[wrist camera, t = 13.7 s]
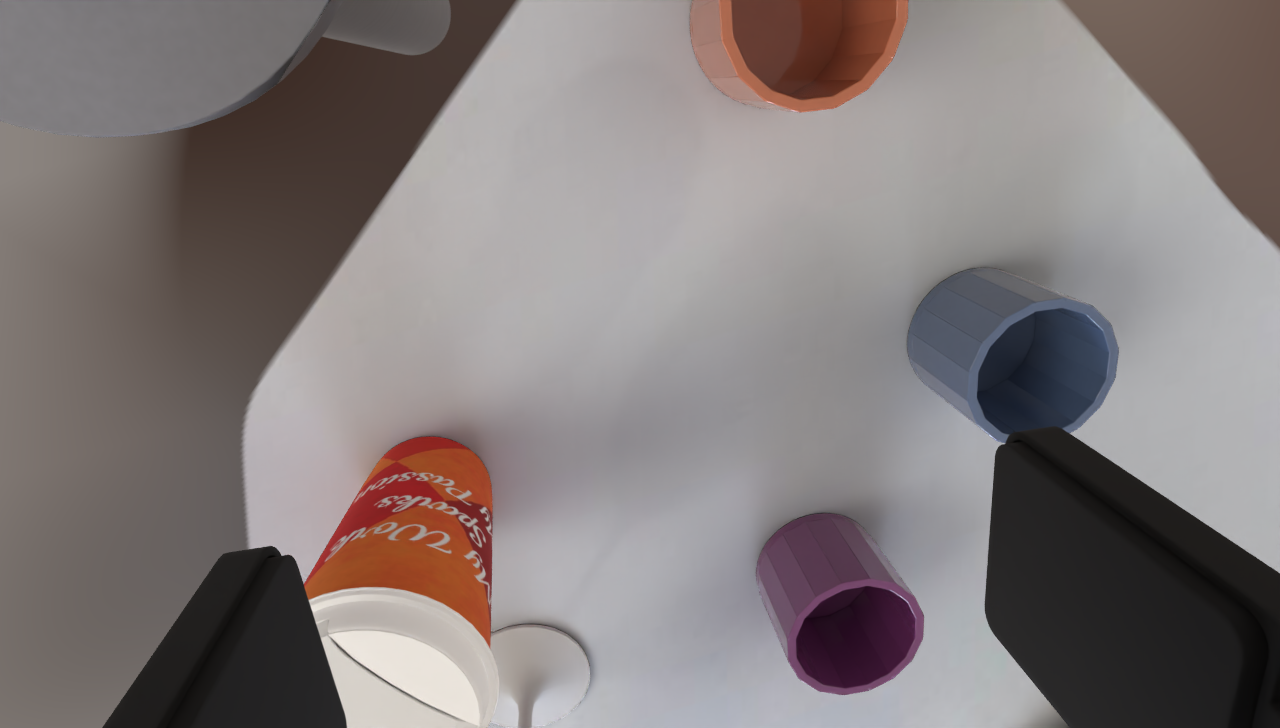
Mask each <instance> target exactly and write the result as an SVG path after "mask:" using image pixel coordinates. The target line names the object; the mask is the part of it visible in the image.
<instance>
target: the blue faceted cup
mask: <svg viewBox="0 0 1280 728" xmlns="http://www.w3.org/2000/svg"><path fill="white" fill-rule="evenodd" d="M907 347H908V356H909V360H910V363H911V366H912V368H913V370H914V372H915V374H916V375H917V376H918V378H919V379H920V380H921V381H922V382H923V383H924V384H925V385H926V386H928V387H929V388H930V389H931V390H933V391H934V392H935V393H936V394H937V395H939V396H940V397H941V398H942V399H944V400H945V401H946V402H947V403H949V404H950V405H951V406H952V407H954V408H955V409H956V410H958V411H959V412H960V413H961V414H963V415H964V416H965V417H966V418H968V419H969V420H970V421H971V422H973V423H974V424H975V425H977V426H978V427H979V428H980V429H982V430H983V431H984V432H985V433H987V434H988V435H989V436H990V437H992V438H993V439H994V440H996V441H998V442H1002V443H1006V440H1007V438H1008V436H1009V435H1010V434H1012V433H1013V432H1018V431H1024V430H1031V429H1038V428H1044V427H1051V426H1057V427H1059V428H1062V429H1063V430H1065V431H1066V432H1068V433H1071V432H1073V431H1075V430H1077V429H1078V428H1080V427H1081V426H1082V425H1083V424H1084V423H1085V422H1086V421H1087V420H1088V419H1089V418H1090V417H1091V416H1092V415H1093V414H1094V413H1095V412H1096V411H1097V410H1098V409H1099V408H1100V406H1101V405H1102V403H1103V402H1104V400H1105V398H1106V396H1107V394H1108V392H1109V390H1110V388H1111V386H1112V384H1113V382H1114V380H1115V378H1116V370H1117V362H1118V354H1119V348H1118V345H1117V342H1116V338H1115V335H1114V332H1113V328H1112V325H1111V323H1110V322H1109V321H1108V320H1107V319H1106V318H1105V317H1104V316H1103V315H1102V314H1101V313H1099V312H1098V311H1097V310H1096V309H1095V308H1094V307H1093V306H1092V305H1090V304H1087V303H1085V302H1082V301H1080V300H1077V299H1075V298H1072V297H1070V296H1068V295H1065V294H1063V293H1060V292H1058V291H1055V290H1053V289H1050V288H1048V287H1045V286H1043V285H1040V284H1038V283H1035V282H1033V281H1030V280H1028V279H1025V278H1023V277H1020V276H1018V275H1014V274H1011V273H1008V272H1005V271H1003V270H1000V269H995V268H974V269H969V270H965V271H962V272H959V273H957V274H955V275H953V276H951V277H949V278H947V279H946V280H944V281H942V282H941V283H940V284H938V285H937V286H936V287H935V288H934V289H933V290H932V291H931V292H930V293H929V294H928V295H927V296H926V297H925V298H924V300H923V301H922V302H921V304H920V305H919V307H918V308H917V310H916V312H915V314H914V316H913V319H912V321H911V324H910V328H909V332H908V340H907Z"/></svg>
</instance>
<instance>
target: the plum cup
mask: <svg viewBox="0 0 1280 728" xmlns="http://www.w3.org/2000/svg"><path fill="white" fill-rule="evenodd" d="M756 580H757V585H758V588H759V593H760V596H761V598H762V600H763V603H764V605H765V608H766V610H767V612H768V615H769V617H770V619H771V622H772V624H773V627H774V629H775V631H776V634H777V636H778V638H779V641H780V643H781V646H782V648H783V650H784V653H785V655H786V657H787V660H788V662H789V664H790V665H791V667H792V669H793V670H794V672H795V673H796V675H797V677H798V678H799V679H800V680H801V681H802V682H804V683H806V684H807V685H809V686H811V687H812V688H814V689H816V690H817V691H820V692H825V693H832V694H838V695H848V694H853V693H859V692H865V691H869V690H872V689H874V688H876V687H878V686H880V685H882V684H884V683H886V682H887V681H889V680H891V679H893V678H895V677H896V676H897V675H898V674H899V673H900V672H901V671H902V670H903V669H904V668H905V667H906V666H907V665H908V664H909V663H910V662H911V661H912V660H913V658H914V656H915V654H916V652H917V650H918V648H919V646H920V644H921V642H922V640H923V630H924V614H923V612H922V610H921V608H920V606H919V604H918V602H917V600H916V598H915V596H914V595H913V594H912V592H911V591H910V590H909V588H908V587H907V585H906V584H905V583H904V581H903V580H902V578H901V577H900V576H899V574H898V573H897V572H896V570H895V569H894V567H893V566H892V565H891V563H890V562H889V560H888V559H887V558H886V556H885V555H884V553H883V552H882V551H881V549H880V548H879V547H878V545H877V544H876V542H875V541H874V540H873V538H872V537H871V536H870V535H869V534H868V533H867V532H866V531H865V529H864V528H863V527H862V526H861V525H859V524H858V523H857V522H855V521H853V520H852V519H850V518H847V517H845V516H841V515H838V514H831V513H820V514H812V515H808V516H804V517H801V518H798V519H796V520H794V521H792V522H790V523H788V524H787V525H785V526H783V527H782V528H781V529H779V530H778V531H777V532H776V533H775V534H774V535H773V536H772V537H771V538H770V539H769V540H768V542H767V543H766V545H765V546H764V548H763V549H762V551H761V554H760V556H759V559H758V562H757V567H756Z"/></svg>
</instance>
